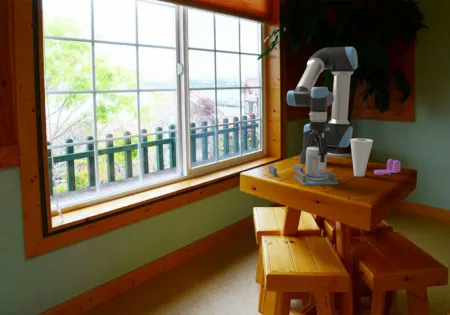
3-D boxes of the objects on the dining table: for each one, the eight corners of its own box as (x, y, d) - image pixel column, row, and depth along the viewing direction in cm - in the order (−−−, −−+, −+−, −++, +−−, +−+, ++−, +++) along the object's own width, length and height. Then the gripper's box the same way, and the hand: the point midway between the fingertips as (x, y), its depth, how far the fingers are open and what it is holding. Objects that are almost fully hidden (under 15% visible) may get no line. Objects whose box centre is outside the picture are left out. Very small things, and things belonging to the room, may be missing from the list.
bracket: (392, 171, 207) (393, 158, 206) (399, 173, 202) (400, 160, 201) (371, 172, 203) (372, 159, 202) (378, 175, 198) (379, 161, 197)
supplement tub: (305, 175, 191) (307, 146, 188) (325, 177, 188) (327, 147, 186) (303, 180, 182) (305, 149, 179) (324, 182, 179) (326, 150, 176)
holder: (296, 171, 205) (297, 163, 204) (303, 175, 195) (303, 167, 194) (268, 171, 203) (269, 164, 202) (273, 176, 193) (273, 168, 192)
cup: (359, 178, 190) (362, 141, 186) (343, 174, 199) (345, 139, 195) (375, 176, 194) (377, 140, 191) (358, 172, 204) (361, 138, 200)
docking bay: (324, 176, 194) (325, 168, 194) (337, 184, 179) (338, 176, 178) (293, 176, 192) (293, 169, 191) (304, 185, 177) (304, 176, 176)
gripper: (301, 118, 192) (299, 160, 196) (320, 123, 168) (317, 172, 172) (316, 118, 193) (314, 160, 197) (336, 123, 169) (334, 171, 173)
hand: (315, 166), depth 184 cm, fingers open, 13 cm apart
